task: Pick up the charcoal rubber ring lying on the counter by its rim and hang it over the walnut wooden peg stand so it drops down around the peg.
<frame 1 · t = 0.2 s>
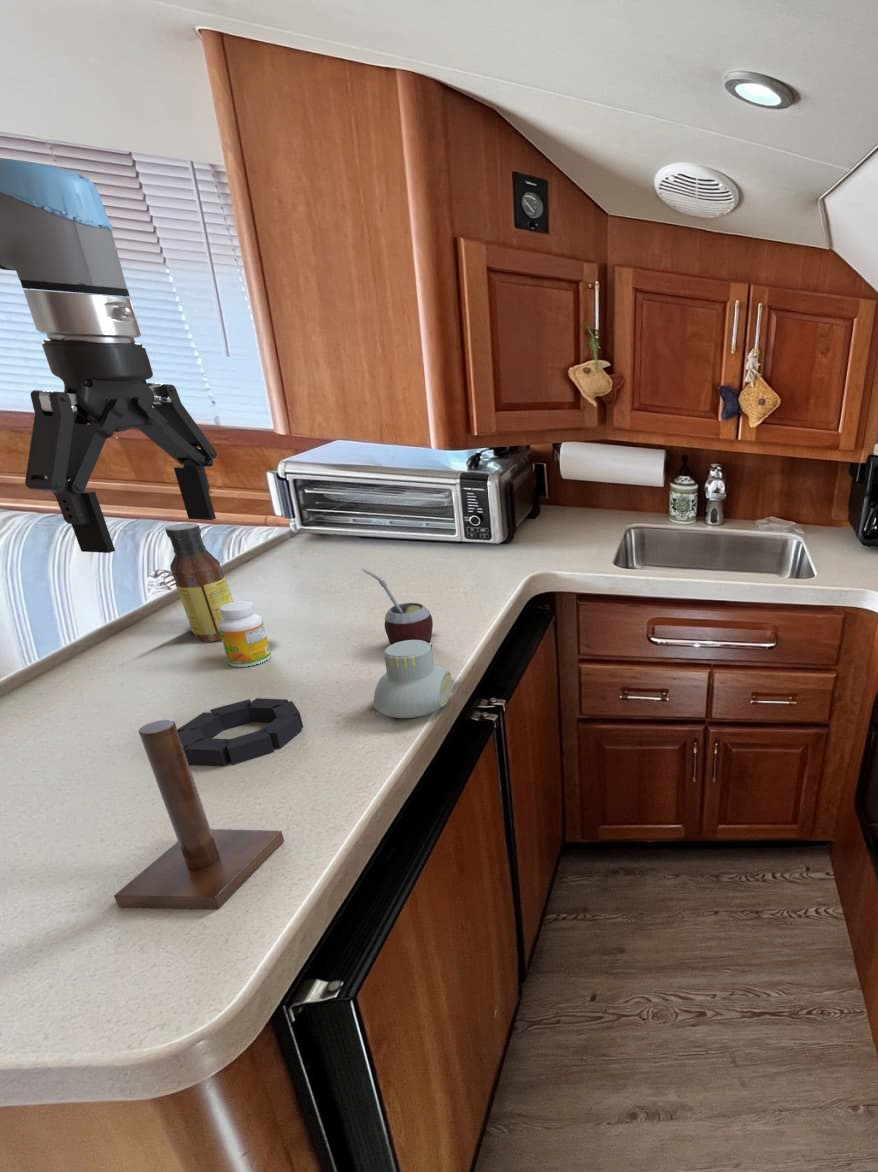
hand: (155, 534, 74), 28 cm above the table, tool pointing down, fingers open, 13 cm apart
ring: (243, 737, 85), on the table
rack: (207, 872, 65), on the table
supplement bottle: (250, 661, 103), on the table
sauce bottle: (218, 637, 110), on the table
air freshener: (417, 708, 95), on the table
mate gourd: (410, 651, 111), on the table
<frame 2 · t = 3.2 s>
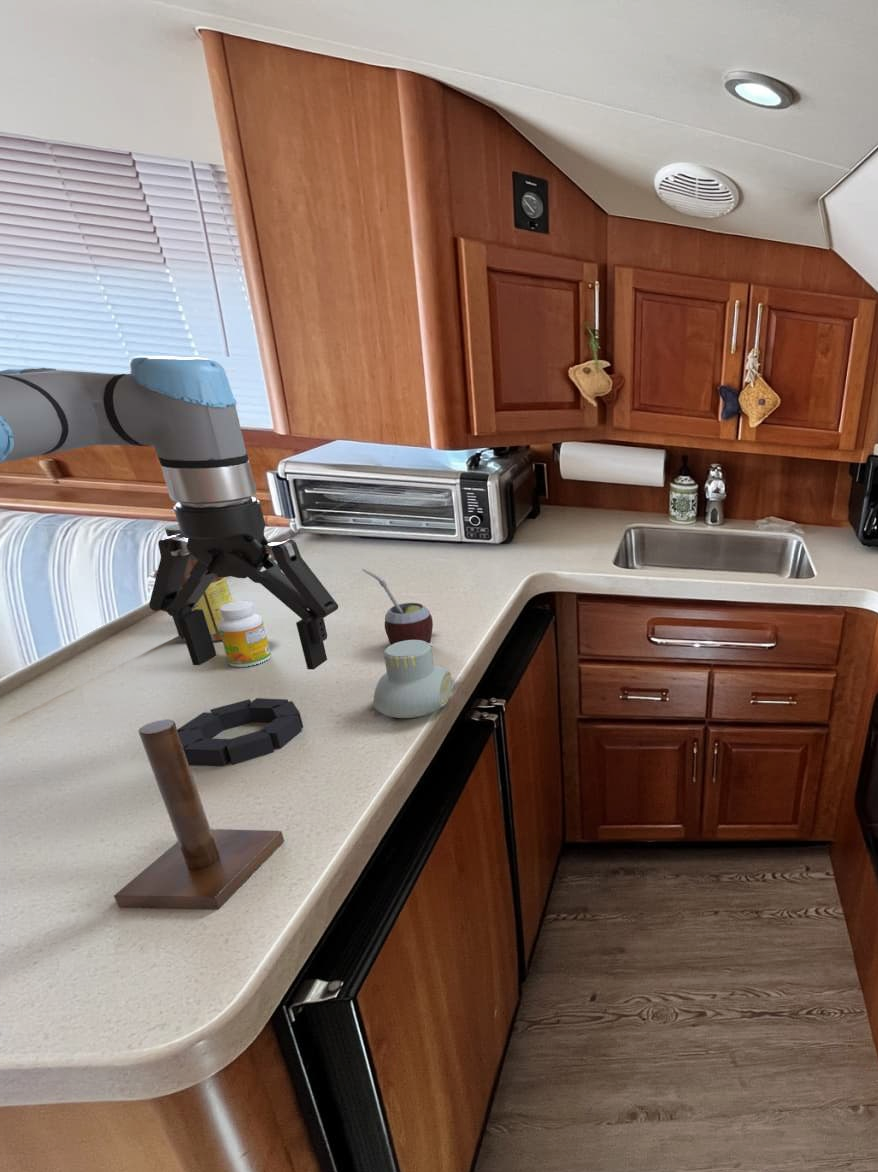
hand: (261, 662, 81), 12 cm above the table, tool pointing down, fingers open, 13 cm apart
nothing on the table moved.
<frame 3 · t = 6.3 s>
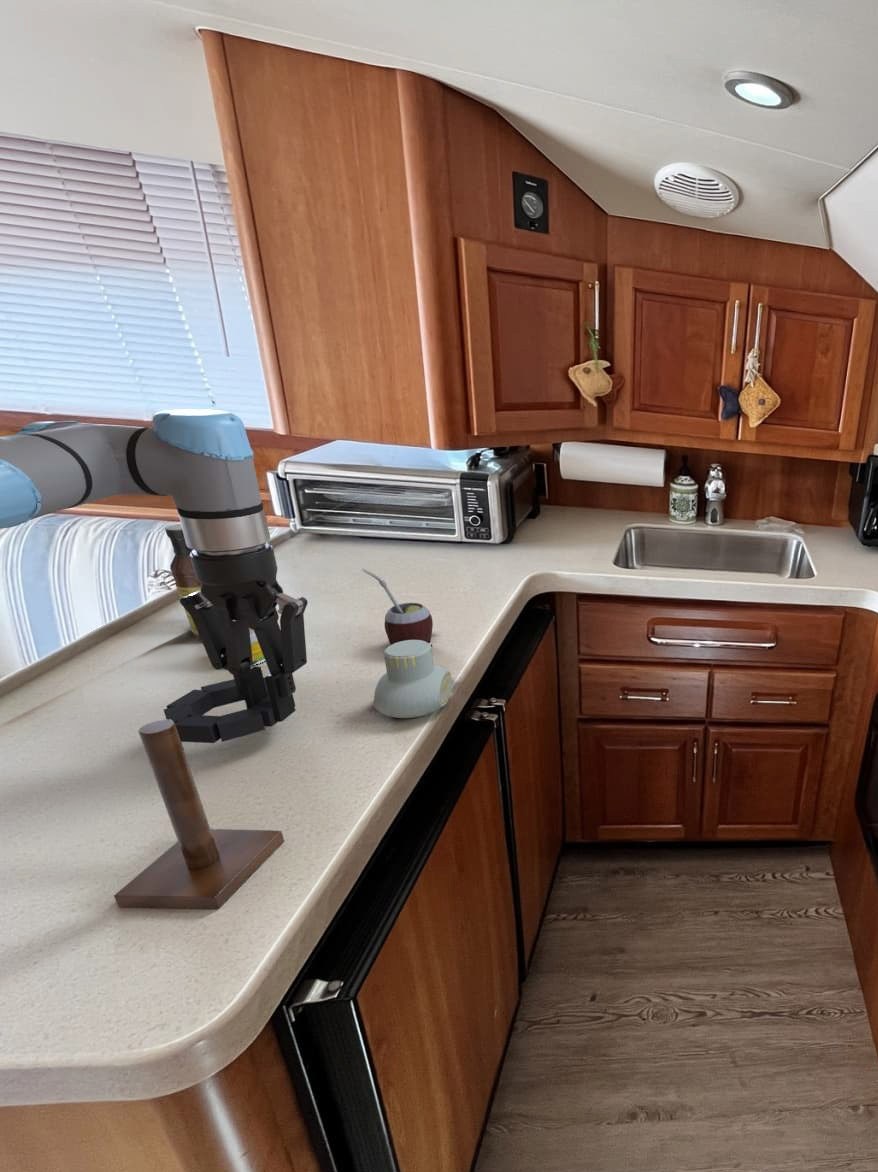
hand: (273, 715, 84), 4 cm above the table, tool pointing down, fingers closed on ring, 2 cm apart
ring: (234, 715, 83), point 3 cm above the table, touching gripper
everything else where it was.
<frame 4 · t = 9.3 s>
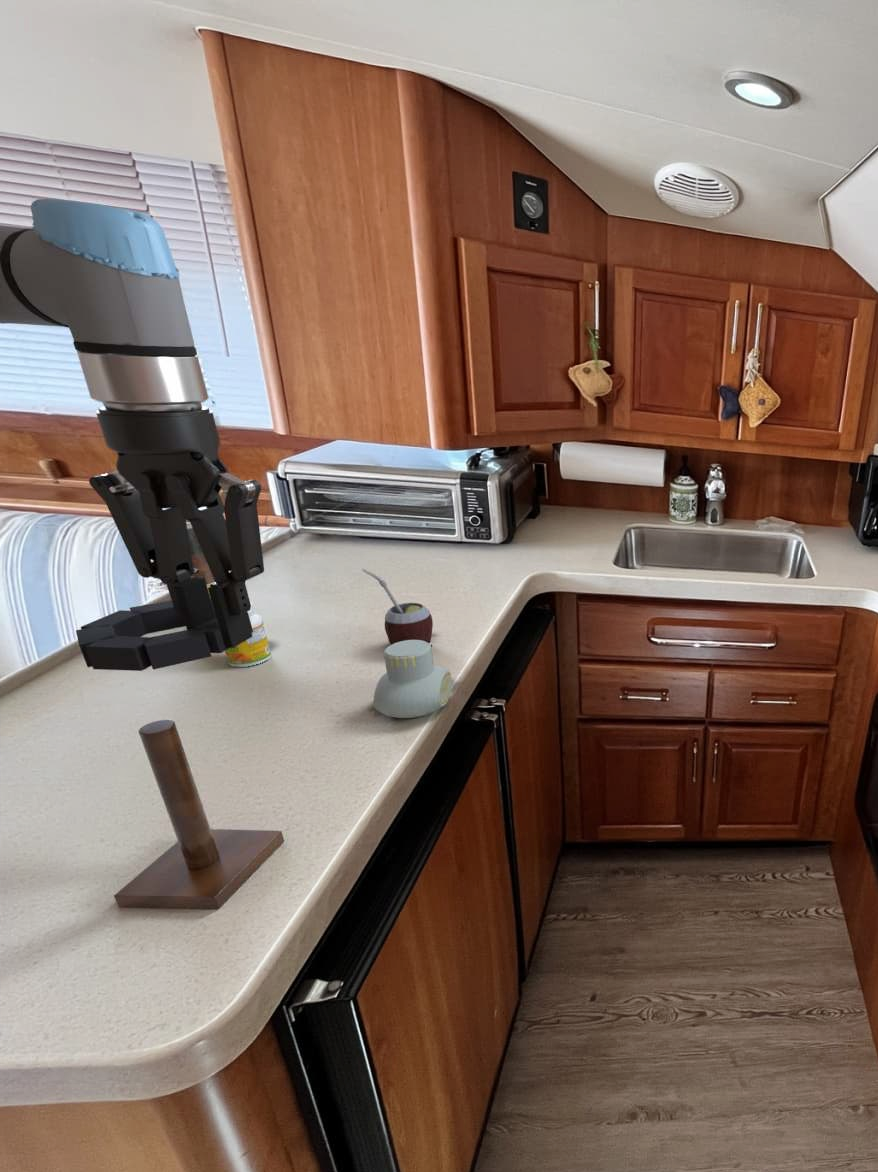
hand: (223, 641, 65), 22 cm above the table, tool pointing down, fingers closed on ring, 2 cm apart
ring: (172, 642, 65), point 21 cm above the table, touching gripper
everything else where it was.
when the fingers open (13 cm above the table, at t = 12.7 s): ring drops 11 cm, resting on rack.
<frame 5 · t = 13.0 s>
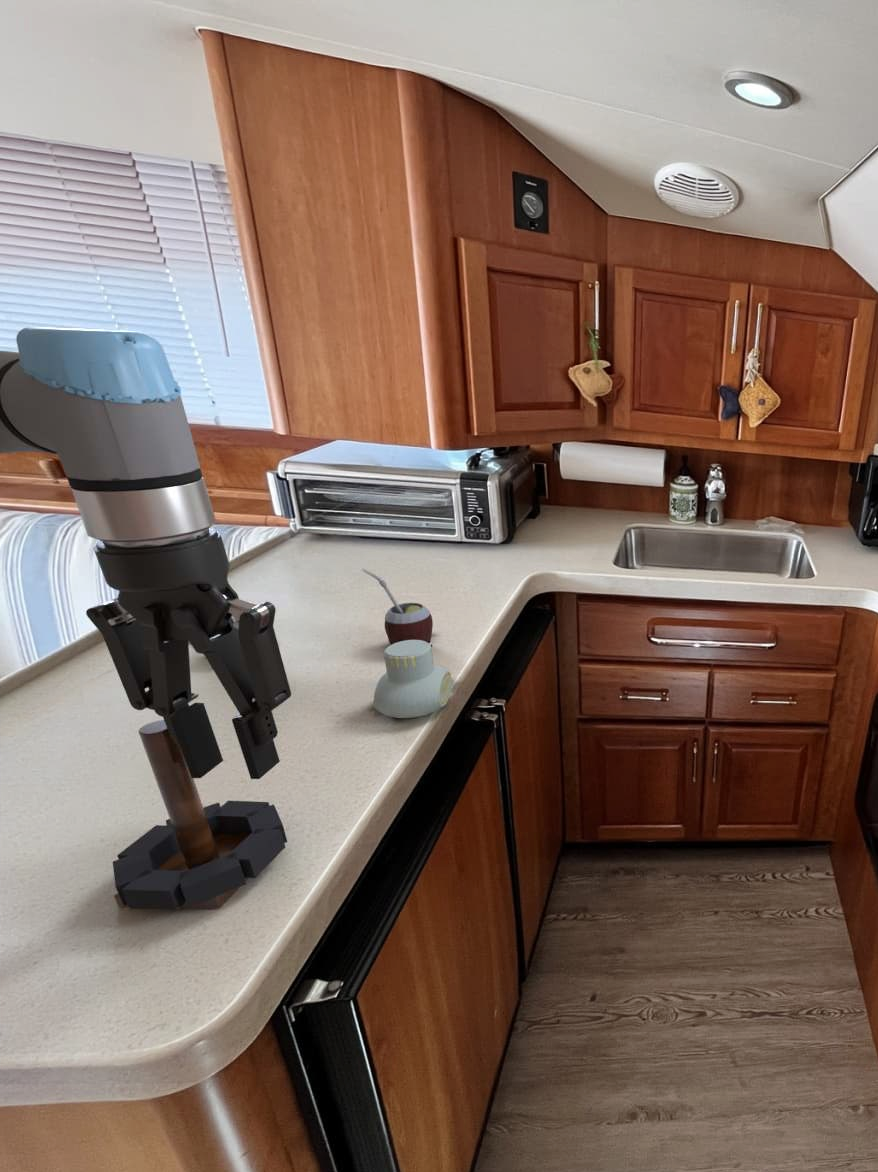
hand: (236, 769, 60), 13 cm above the table, tool pointing down, fingers open, 4 cm apart
ring: (207, 860, 64), point 1 cm above the table, touching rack
everything else where it was.
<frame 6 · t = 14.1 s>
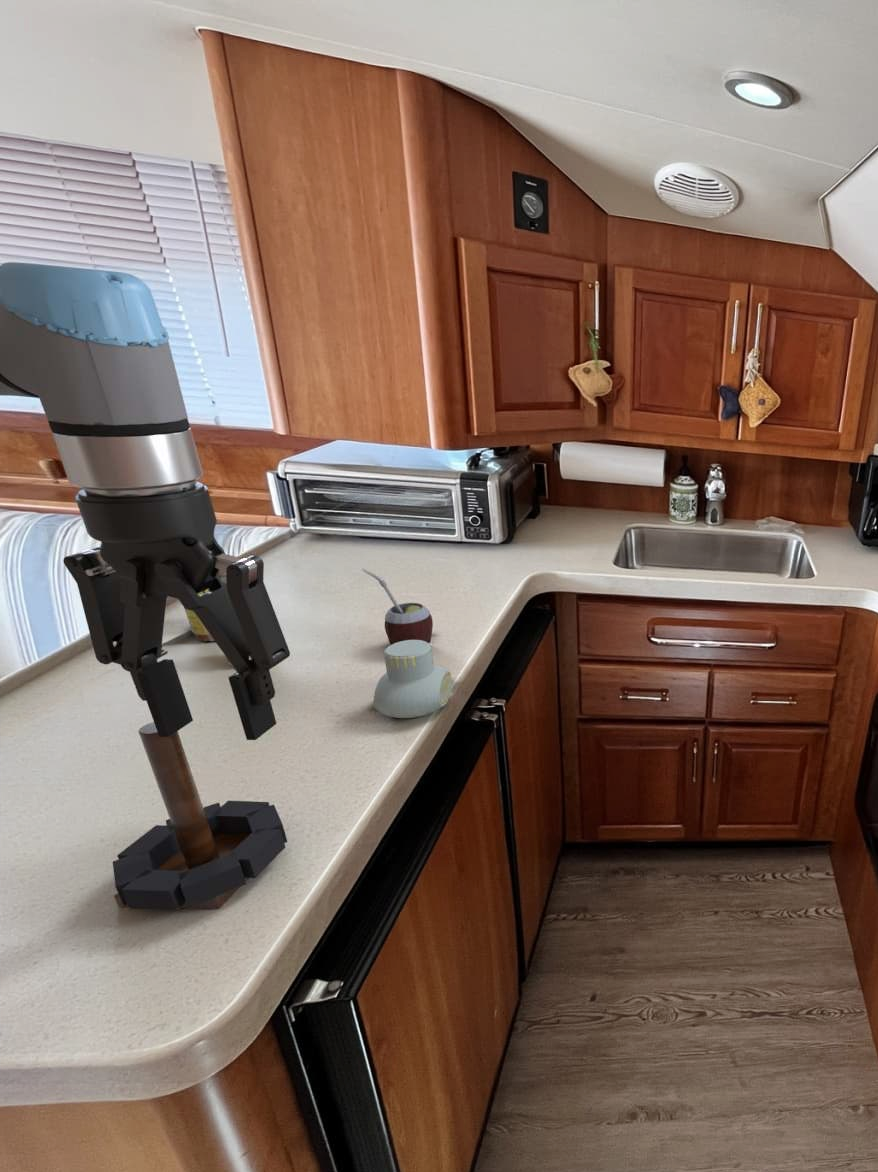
hand: (219, 729, 59), 17 cm above the table, tool pointing down, fingers open, 7 cm apart
nothing on the table moved.
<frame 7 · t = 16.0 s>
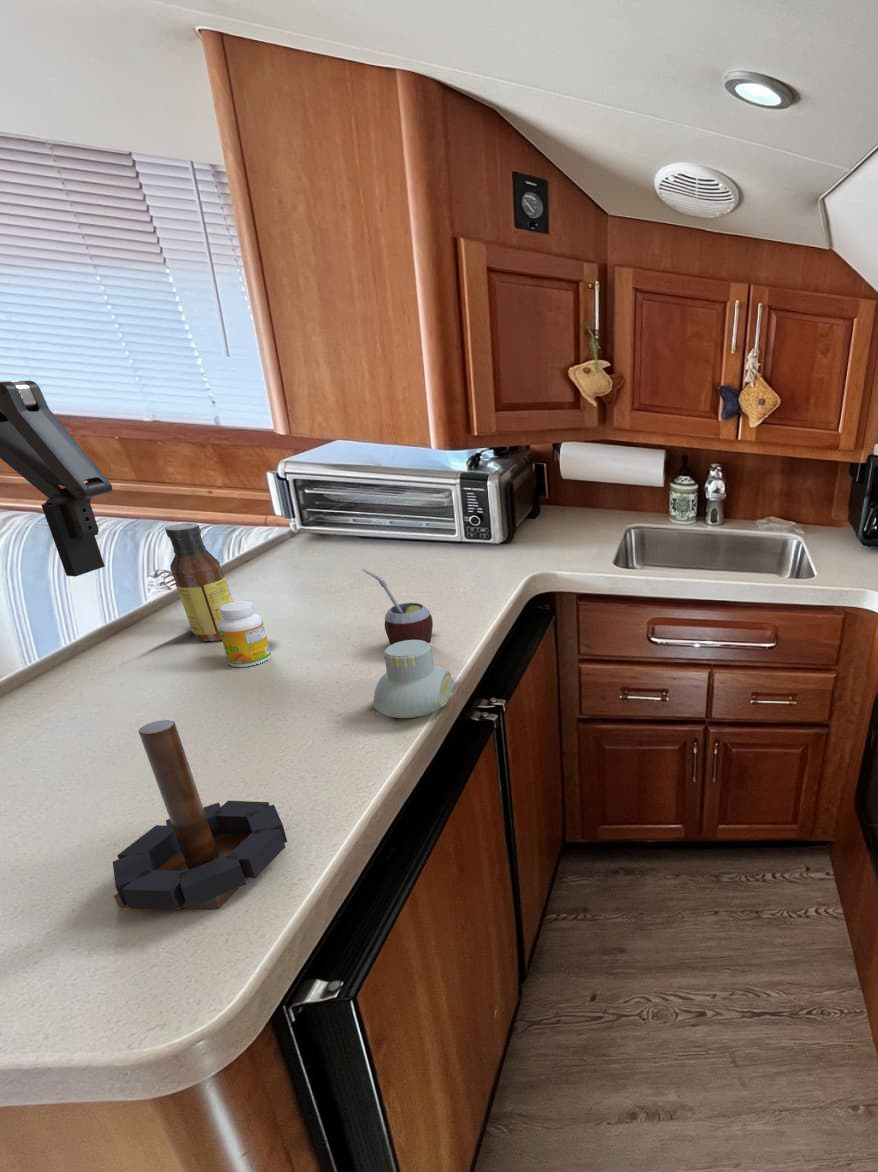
hand: (4, 565, 57), 31 cm above the table, tool pointing down, fingers open, 13 cm apart
nothing on the table moved.
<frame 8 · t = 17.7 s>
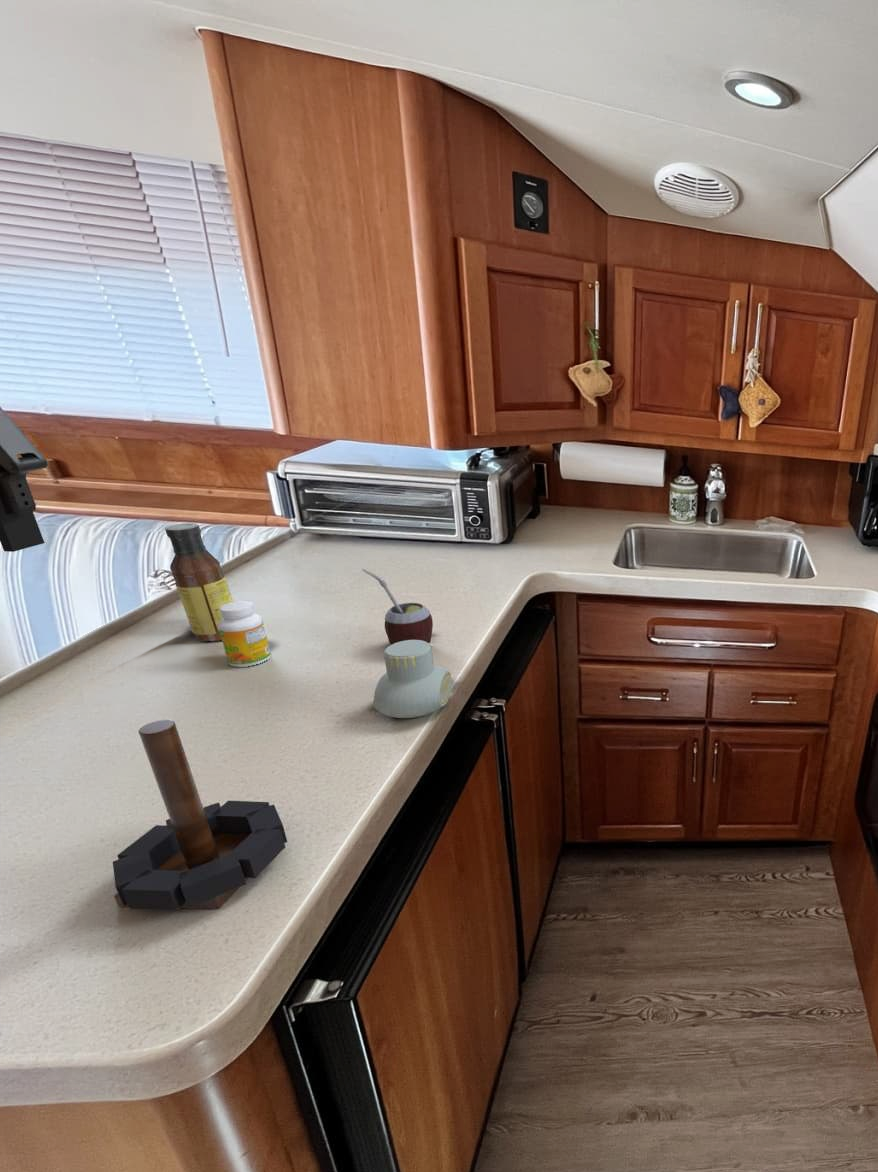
nothing on the table moved.
at the end: ring 0.4 cm from the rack (horizontally); ring point 1.5 cm above the table; the gripper is holding nothing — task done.
